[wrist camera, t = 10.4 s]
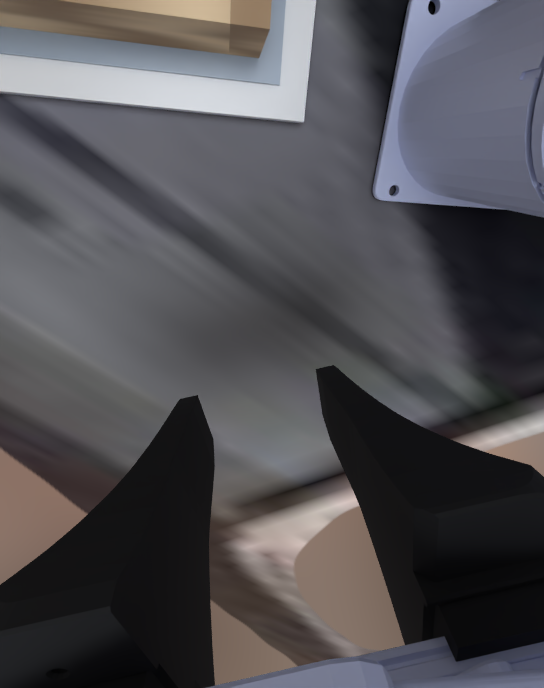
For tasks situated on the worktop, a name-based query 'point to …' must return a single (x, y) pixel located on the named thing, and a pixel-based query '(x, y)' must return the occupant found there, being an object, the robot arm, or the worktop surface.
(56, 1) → the wood collar
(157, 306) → the worktop surface
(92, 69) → the post stand
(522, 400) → the worktop surface
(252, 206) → the worktop surface
